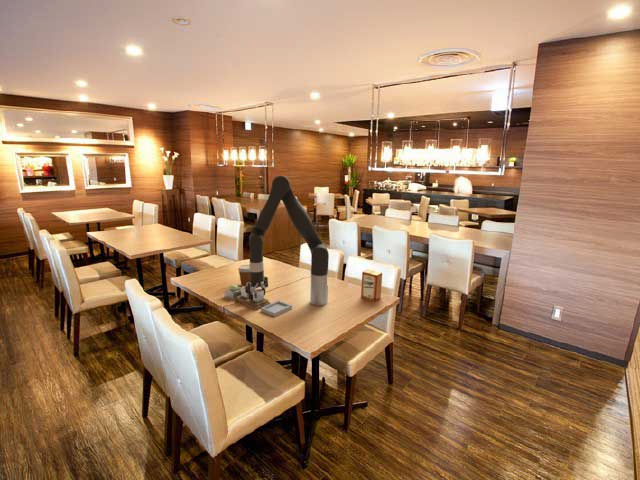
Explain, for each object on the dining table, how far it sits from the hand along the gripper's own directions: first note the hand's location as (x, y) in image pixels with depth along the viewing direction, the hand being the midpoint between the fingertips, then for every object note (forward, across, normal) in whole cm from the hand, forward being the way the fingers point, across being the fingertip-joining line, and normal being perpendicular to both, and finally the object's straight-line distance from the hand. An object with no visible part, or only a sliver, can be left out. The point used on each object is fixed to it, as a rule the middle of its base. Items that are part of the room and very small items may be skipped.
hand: (257, 297), depth 178 cm
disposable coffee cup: (+4, -16, -28) cm, 33 cm away
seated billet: (+3, 0, -8) cm, 9 cm away
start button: (+1, +1, -18) cm, 18 cm away
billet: (+3, 0, 0) cm, 3 cm away
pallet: (+4, 0, -4) cm, 6 cm away
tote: (+4, -2, +13) cm, 14 cm away
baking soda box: (+5, -50, +43) cm, 66 cm away
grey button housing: (+4, +1, -18) cm, 19 cm away
